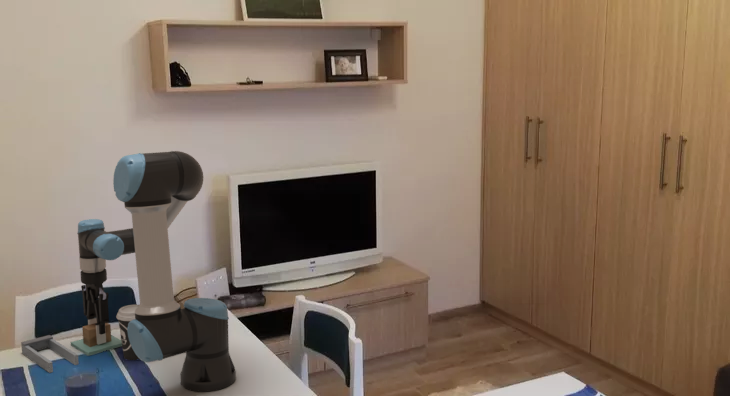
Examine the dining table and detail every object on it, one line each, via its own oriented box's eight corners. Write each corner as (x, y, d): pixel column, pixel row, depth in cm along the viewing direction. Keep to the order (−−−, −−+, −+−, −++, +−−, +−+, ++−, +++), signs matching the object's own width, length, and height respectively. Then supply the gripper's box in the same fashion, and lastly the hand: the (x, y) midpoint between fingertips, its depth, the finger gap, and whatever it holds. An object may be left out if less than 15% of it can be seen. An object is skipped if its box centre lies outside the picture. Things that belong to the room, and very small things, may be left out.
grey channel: (78, 364, 207) (77, 352, 206) (49, 372, 201) (48, 361, 200) (50, 345, 221) (49, 334, 220) (22, 353, 215) (21, 342, 214)
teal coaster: (125, 345, 222) (124, 342, 222) (88, 355, 213) (87, 352, 213) (107, 335, 230) (106, 332, 230) (70, 345, 221) (70, 342, 221)
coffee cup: (141, 363, 208) (139, 315, 205) (112, 360, 210) (109, 312, 207) (157, 351, 217) (155, 304, 215) (128, 348, 219) (126, 302, 216)
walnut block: (90, 347, 217) (88, 330, 216) (83, 343, 220) (82, 326, 219) (111, 340, 222) (110, 324, 221) (104, 337, 225) (103, 320, 224)
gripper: (118, 272, 214) (122, 345, 218) (92, 261, 226) (96, 330, 230) (94, 277, 208) (99, 352, 213) (68, 266, 220) (73, 336, 225)
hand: (97, 340), depth 221 cm, fingers closed on walnut block, 4 cm apart
